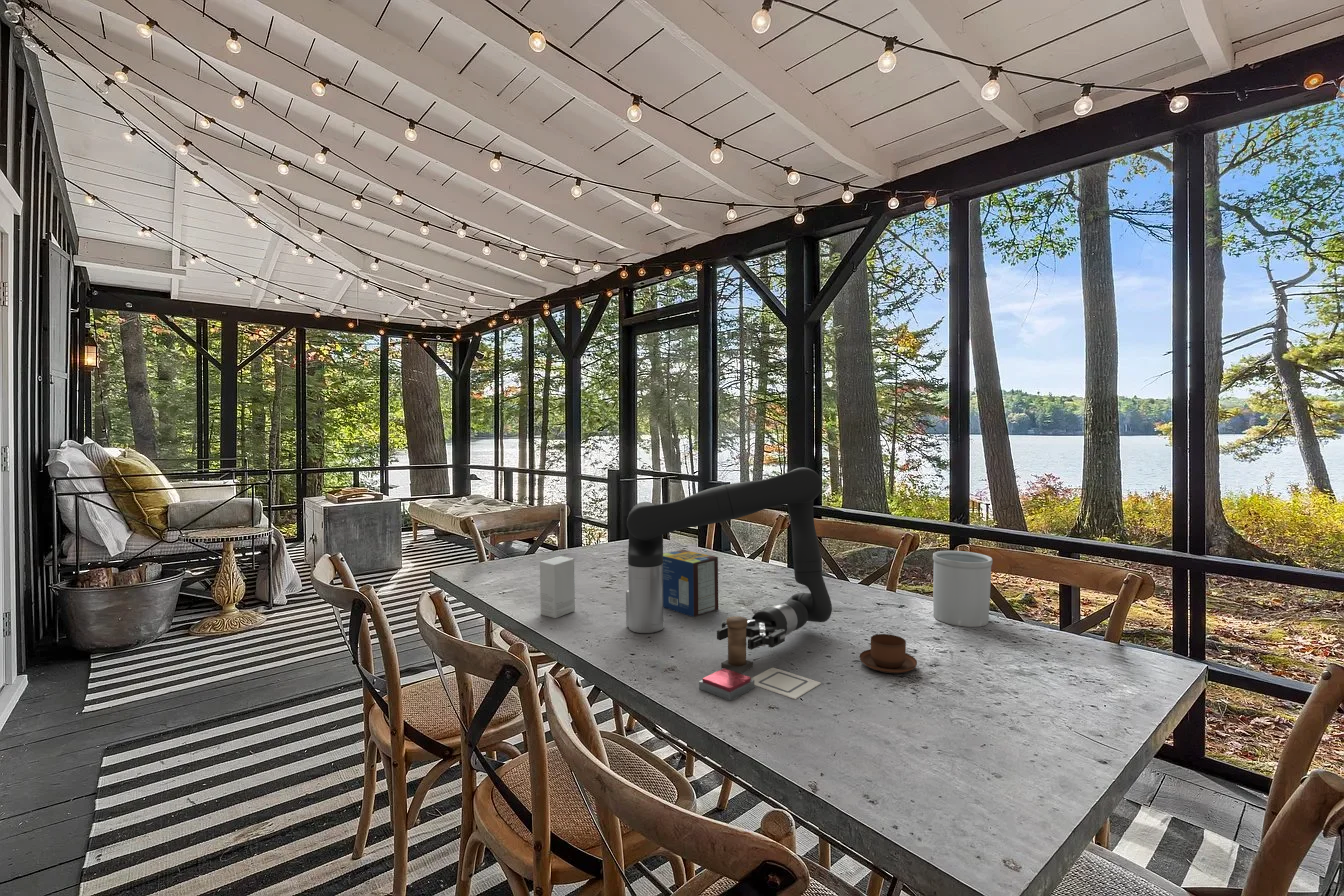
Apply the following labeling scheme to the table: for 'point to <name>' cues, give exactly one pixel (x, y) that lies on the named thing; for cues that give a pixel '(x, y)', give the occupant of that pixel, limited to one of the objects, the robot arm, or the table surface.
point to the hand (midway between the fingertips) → (733, 640)
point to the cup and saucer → (888, 655)
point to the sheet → (784, 683)
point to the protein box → (690, 582)
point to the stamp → (737, 645)
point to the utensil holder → (961, 588)
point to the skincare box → (557, 586)
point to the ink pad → (726, 684)
